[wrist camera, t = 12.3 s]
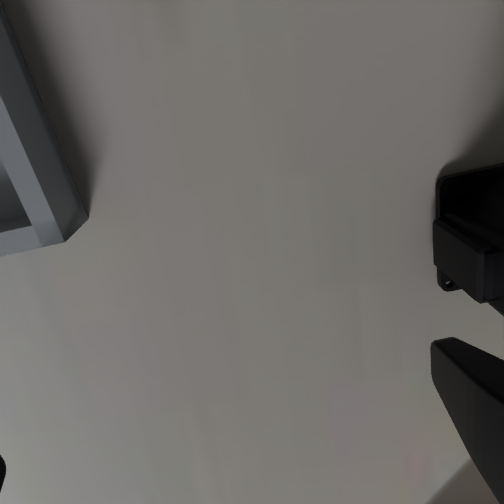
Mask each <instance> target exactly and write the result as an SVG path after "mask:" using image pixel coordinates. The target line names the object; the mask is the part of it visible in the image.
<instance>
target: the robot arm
mask: <svg viewBox="0 0 504 504" xmlns="http://www.w3.org/2000/svg"><path fill="white" fill-rule="evenodd" d="M449 182H450V184H451V185H450V187H449V189H447V190H445V189H444V188H445V185H446V184H447V183H449ZM433 254H434V265H435V266H437V279H438V285H439V286H440V287H441V288H442V289H443V290H444V291H447V292H448V291H455V290H459V289H463V290H464V291H465V292H466V293H467V294H468V295H469V296H471V297H472V298H473V299H474V300H475V301H477V302H478V303H480V304H481V303H486V302H487V303H489V304H490V305H491V306H492V307H493V308H494V309H496V310H497V311H498V312H499V313H500V314H501V315H503V316H504V163H501V164H496V165H492V166H487V167H483V168H478V169H474V170H469V171H465V172H460V173H456V174H451V175H446V176H444V177H441V178H440V179H439V180H438V182H437V183H436V219H435V220H434V222H433ZM448 280H451V281H450V282H449V283H448V284H446V282H447V281H448ZM430 351H431V375H432V380H433V383H434V385H435V387H436V389H437V391H438V393H439V395H440V397H441V399H442V401H443V403H444V405H445V407H446V409H447V411H448V413H449V415H450V417H451V419H452V421H453V423H454V425H455V427H456V429H457V431H458V433H459V435H460V437H461V439H462V441H463V443H464V445H465V447H466V449H467V451H468V453H469V455H470V457H471V458H472V460H473V462H474V464H475V465H476V467H477V468H478V470H479V472H480V474H481V475H482V477H483V478H484V480H485V481H486V483H487V485H488V486H489V488H490V489H491V491H492V493H493V494H494V496H495V497H496V499H497V500H498V502H499V503H500V504H504V360H502V359H500V358H498V357H496V356H494V355H491V354H489V353H487V352H485V351H483V350H481V349H478V348H476V347H474V346H472V345H470V344H468V343H466V342H463V341H461V340H459V339H457V338H454V337H448V338H444V339H439V340H435V341H433V342H432V343H431V347H430ZM5 475H6V464H5V461H4V459H3V458H2V457H1V455H0V492H1V488H2V485H3V482H4V478H5Z"/></svg>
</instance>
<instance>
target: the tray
mask: <svg viewBox="0 0 504 504" xmlns="http://www.w3.org/2000/svg"><path fill="white" fill-rule="evenodd" d="M87 220H88V216H87V214H86V211H85V209H84V206H83V204H82V201H81V199H80V196H79V194H78V191H77V189H76V186H75V184H74V181H73V179H72V176H71V174H70V172H69V169H68V167H67V164H66V162H65V159H64V157H63V154H62V152H61V149H60V147H59V144H58V142H57V139H56V137H55V134H54V132H53V129H52V127H51V124H50V122H49V119H48V117H47V114H46V112H45V110H44V107H43V105H42V102H41V100H40V97H39V95H38V92H37V90H36V87H35V85H34V82H33V80H32V77H31V75H30V72H29V70H28V67H27V65H26V62H25V60H24V57H23V55H22V52H21V50H20V47H19V45H18V43H17V40H16V38H15V35H14V33H13V30H12V28H11V25H10V23H9V20H8V18H7V15H6V13H5V10H4V8H3V5H2V3H1V0H0V256H5V255H9V254H14V253H18V252H23V251H27V250H32V249H36V248H41V247H45V246H50V245H54V244H59V243H63V242H66V241H67V240H68V239H69V238H70V237H71V236H72V235H73V234H74V233H75V232H76V231H77V230H78V229H79V228H80V227H81V226H82V225H83V224H84V223H85V222H86V221H87Z"/></svg>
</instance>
